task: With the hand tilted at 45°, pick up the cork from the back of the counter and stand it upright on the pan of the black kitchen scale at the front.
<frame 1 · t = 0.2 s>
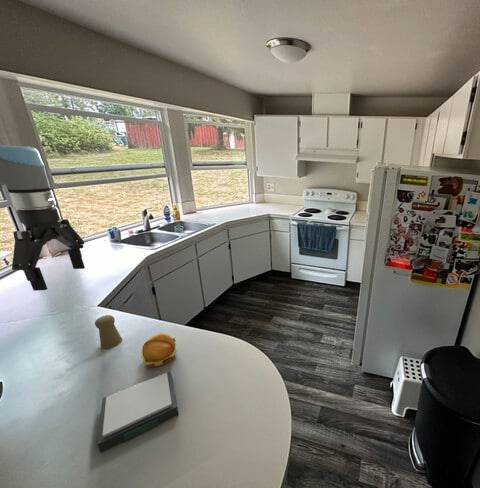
hand: (61, 278, 74), 30 cm above the table, tool pointing down, fingers open, 13 cm apart
kitchen scale: (141, 410, 68), on the table
cork: (111, 343, 90), on the table
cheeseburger: (161, 358, 85), on the table
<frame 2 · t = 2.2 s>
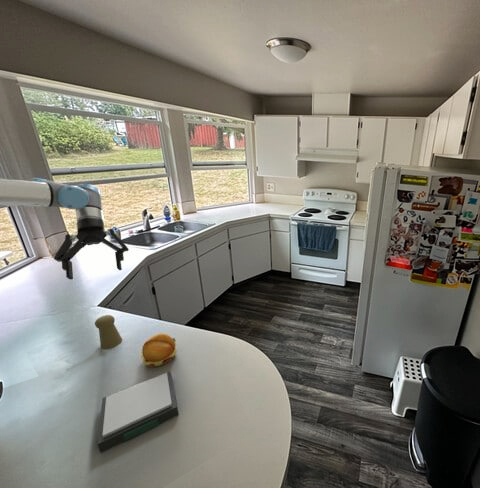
hand: (95, 273, 89), 24 cm above the table, tool tilted 45°, fingers open, 13 cm apart
nothing on the table moved.
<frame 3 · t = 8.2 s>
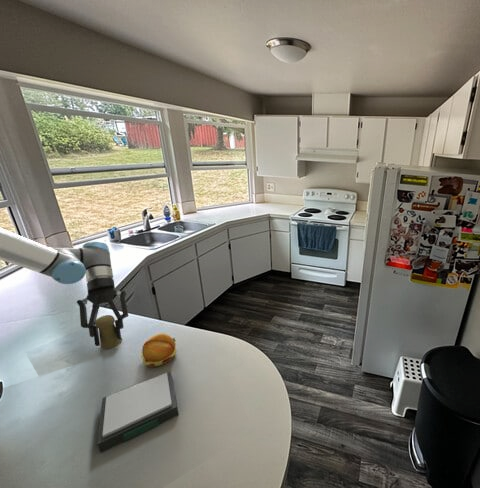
hand: (108, 341, 86), 3 cm above the table, tool tilted 45°, fingers closed on cork, 5 cm apart
cork: (111, 343, 90), on the table, touching gripper
everything else where it was.
when the fingers open (7 cm above the table, at t = 18.2 s): cork stays where it is, resting on kitchen scale.
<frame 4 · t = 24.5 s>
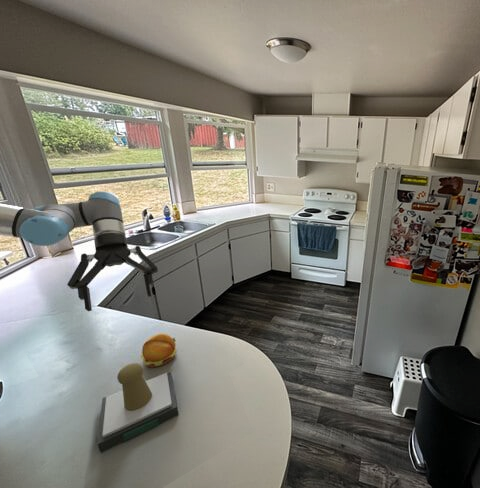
hand: (120, 302, 71), 26 cm above the table, tool tilted 45°, fingers open, 13 cm apart
cork: (138, 400, 67), point 4 cm above the table, touching kitchen scale
everything else where it was.
at the end: cork inside the target area on the kitchen scale (0.1 cm from its centre), point 3.6 cm above the kitchen scale's base; cork tilted 0°; the gripper is holding nothing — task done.
